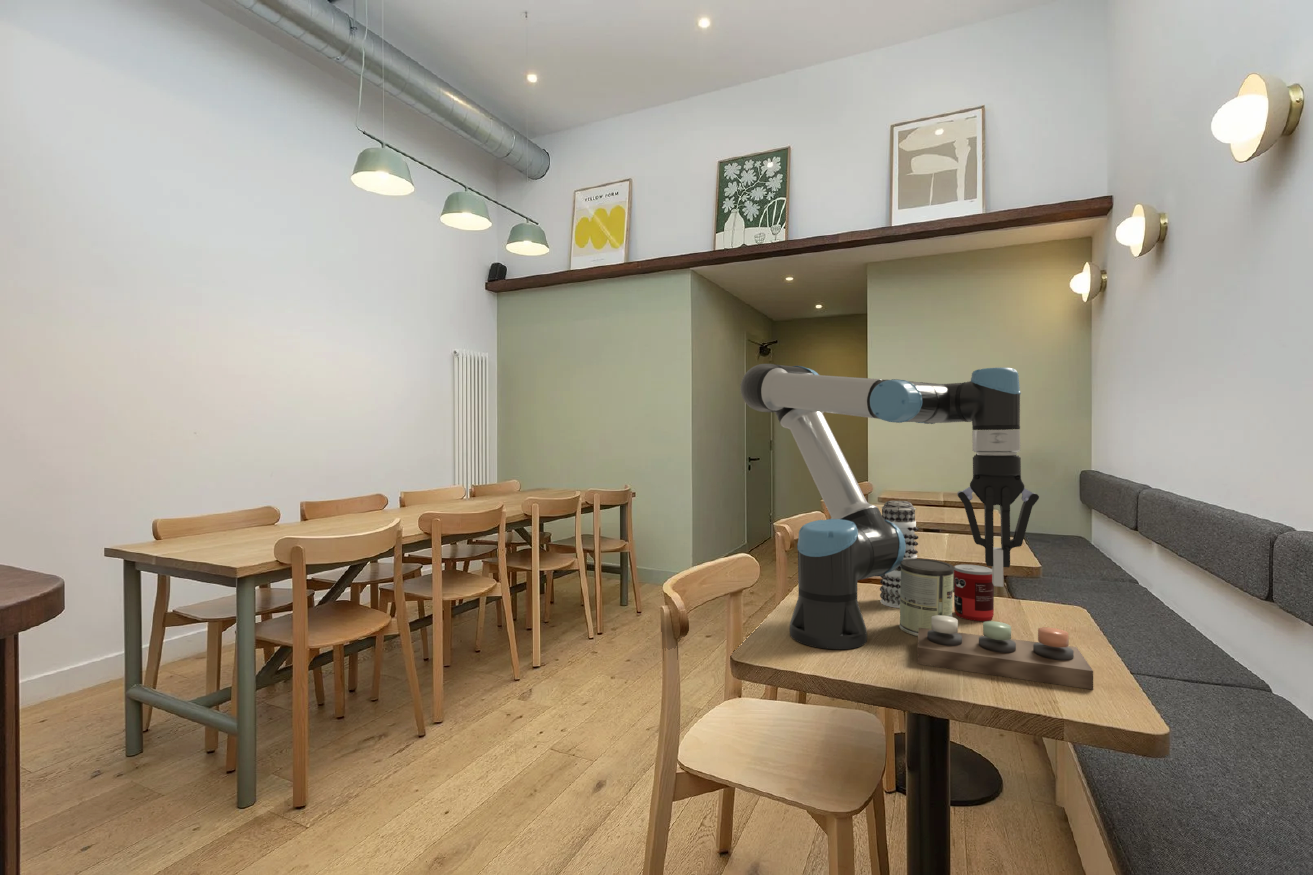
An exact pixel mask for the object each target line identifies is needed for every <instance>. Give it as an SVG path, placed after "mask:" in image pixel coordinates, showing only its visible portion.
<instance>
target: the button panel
mask: <svg viewBox="0 0 1313 875" xmlns="http://www.w3.org/2000/svg"><path fill="white" fill-rule="evenodd" d="M916 648H917V665H921V666H929V667H930V666H931V667H937V668H942V669H951V670H958V671H962V672H963V671H964V672H970V673H978V674H982V675H983V674H985V675H990V676H991V675H992V676H997V677H1002V678H1003V677H1004V678H1011V679H1012V678H1013V679H1018V680H1023V681H1025V680H1026V681H1033V682H1039V683H1046V684H1052V685H1060V686H1066V687H1072V688H1079V689H1080V688H1081V689H1086V690H1087V689H1088V690H1094V670H1093V669H1092V667H1091V666H1090V664H1089V662H1088V661H1087V659H1086V658H1085V657H1084V656H1083V654H1082V652H1081V651H1080V650H1079V648H1078V647H1077V646H1071V645H1069V646H1068V647H1052V646H1048V645H1044V644H1042V643H1040V642H1039V641H1031V640H1022V639H1016V638H1015V639H1014V638H1011V639H1010V640H996V639H991V638H988V637H986V636H984V635H983V634H982V635H981V634H974V633H966V632H959V631H958V632H957V633H953V634H947V633H940V632H937V631H934V630H932V629H926V628H919V632H918V636H917V647H916Z"/></svg>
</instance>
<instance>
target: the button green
mask: <svg viewBox="0 0 1313 875" xmlns="http://www.w3.org/2000/svg"><path fill="white" fill-rule="evenodd" d="M982 622H983V623H982V635H983V636H986V637H988V638H991V639H996V640H1010V639H1012V626H1011V625H1010V624H1009V623H1005V622H1002V621H996V620H995V621H993V620H989V621H982Z"/></svg>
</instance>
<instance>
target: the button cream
mask: <svg viewBox="0 0 1313 875" xmlns="http://www.w3.org/2000/svg"><path fill="white" fill-rule="evenodd" d="M931 624H932V630H934V631H937V632H940V633H947V634H953V633H957V632H958V633H959V630H958V629H959V620H958V619H957V618H956V617H953V616H952V617H949V616H942V615H936V616H932V617H931Z"/></svg>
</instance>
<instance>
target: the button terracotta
mask: <svg viewBox="0 0 1313 875" xmlns="http://www.w3.org/2000/svg"><path fill="white" fill-rule="evenodd" d="M1069 635H1070V634H1069V632H1068V631H1066V630H1063V629H1061V628H1056V627H1050V626H1048V627H1044V626H1042V627H1038V628H1037V642H1040V643H1042V644H1044V645H1048V646H1052V647H1068V646H1070V645H1069V639H1070V638H1069Z"/></svg>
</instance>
